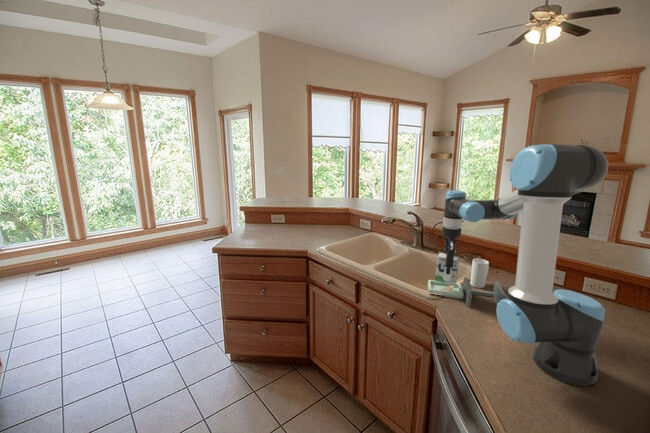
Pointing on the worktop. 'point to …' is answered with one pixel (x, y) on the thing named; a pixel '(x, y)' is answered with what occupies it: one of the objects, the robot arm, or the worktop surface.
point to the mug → (479, 272)
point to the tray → (437, 286)
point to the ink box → (440, 268)
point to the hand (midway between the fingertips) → (446, 277)
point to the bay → (483, 292)
